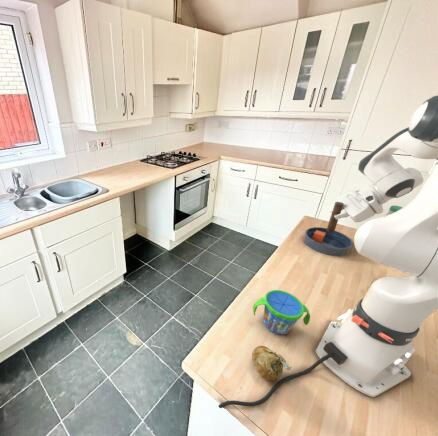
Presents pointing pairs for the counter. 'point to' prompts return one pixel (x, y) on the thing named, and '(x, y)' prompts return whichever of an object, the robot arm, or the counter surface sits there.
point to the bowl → (328, 242)
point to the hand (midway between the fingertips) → (333, 215)
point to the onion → (268, 363)
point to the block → (318, 236)
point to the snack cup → (281, 311)
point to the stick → (333, 221)
